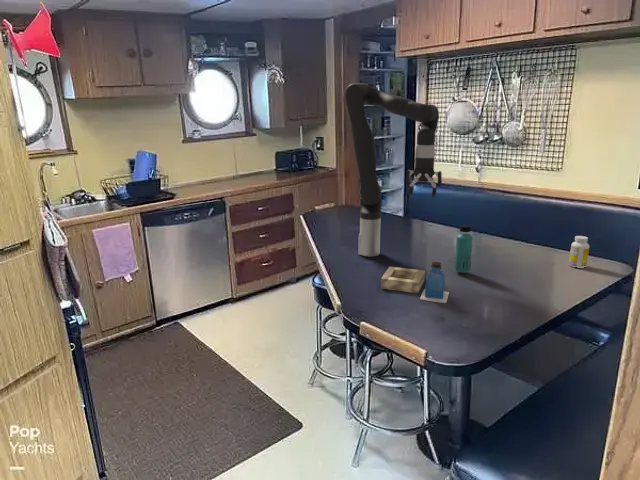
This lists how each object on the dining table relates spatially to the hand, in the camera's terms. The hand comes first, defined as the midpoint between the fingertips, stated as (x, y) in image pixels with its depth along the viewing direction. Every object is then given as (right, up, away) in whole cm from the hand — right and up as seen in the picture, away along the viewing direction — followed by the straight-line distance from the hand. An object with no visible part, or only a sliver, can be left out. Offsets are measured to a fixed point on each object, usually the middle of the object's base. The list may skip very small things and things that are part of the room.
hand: (422, 196), depth 190 cm
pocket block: (-10, -35, -12) cm, 39 cm away
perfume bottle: (-1, -38, -24) cm, 45 cm away
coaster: (-1, -38, -24) cm, 45 cm away
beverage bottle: (+16, -32, -1) cm, 35 cm away
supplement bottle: (+67, -29, +6) cm, 73 cm away
